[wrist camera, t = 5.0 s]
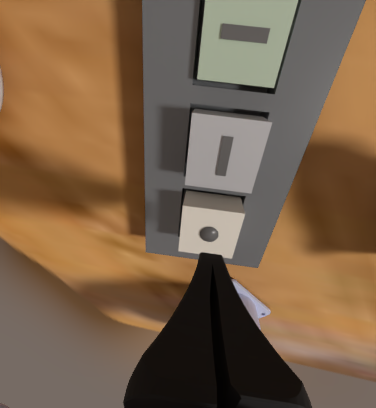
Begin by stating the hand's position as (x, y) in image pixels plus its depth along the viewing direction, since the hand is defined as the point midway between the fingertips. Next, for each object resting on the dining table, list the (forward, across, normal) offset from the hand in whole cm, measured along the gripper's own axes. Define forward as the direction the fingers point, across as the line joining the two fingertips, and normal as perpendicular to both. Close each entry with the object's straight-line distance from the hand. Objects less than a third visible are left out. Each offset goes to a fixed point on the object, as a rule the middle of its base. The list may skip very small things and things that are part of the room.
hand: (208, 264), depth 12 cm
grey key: (+6, 0, -6) cm, 8 cm away
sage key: (+7, 0, -12) cm, 14 cm away
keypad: (+8, 0, -6) cm, 10 cm away
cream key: (+5, 0, 0) cm, 5 cm away
